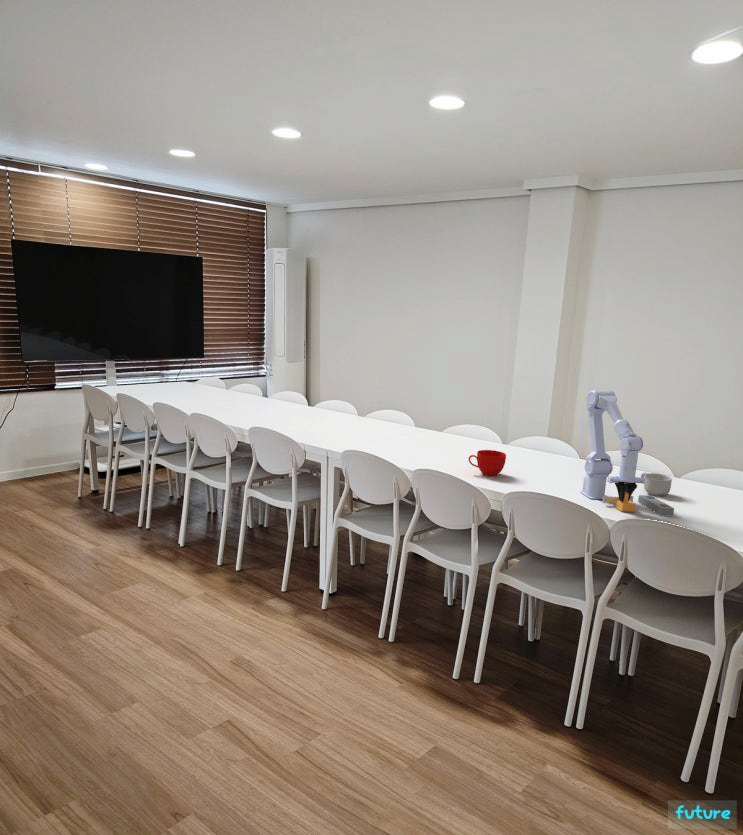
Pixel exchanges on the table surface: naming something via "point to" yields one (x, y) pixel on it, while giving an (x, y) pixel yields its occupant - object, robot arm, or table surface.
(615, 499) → the clip
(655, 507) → the power strip
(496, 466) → the ceramic cup
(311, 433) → the table surface
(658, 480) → the teacup
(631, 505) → the plug
